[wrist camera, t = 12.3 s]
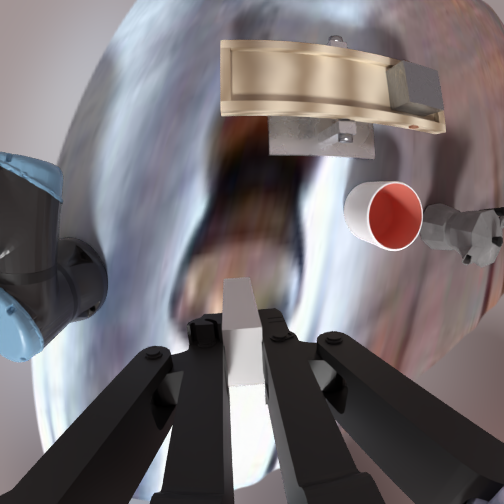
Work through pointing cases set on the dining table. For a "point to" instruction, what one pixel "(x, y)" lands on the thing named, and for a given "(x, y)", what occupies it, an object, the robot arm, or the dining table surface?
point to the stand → (321, 133)
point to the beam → (311, 84)
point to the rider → (414, 89)
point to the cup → (384, 214)
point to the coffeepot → (464, 232)
